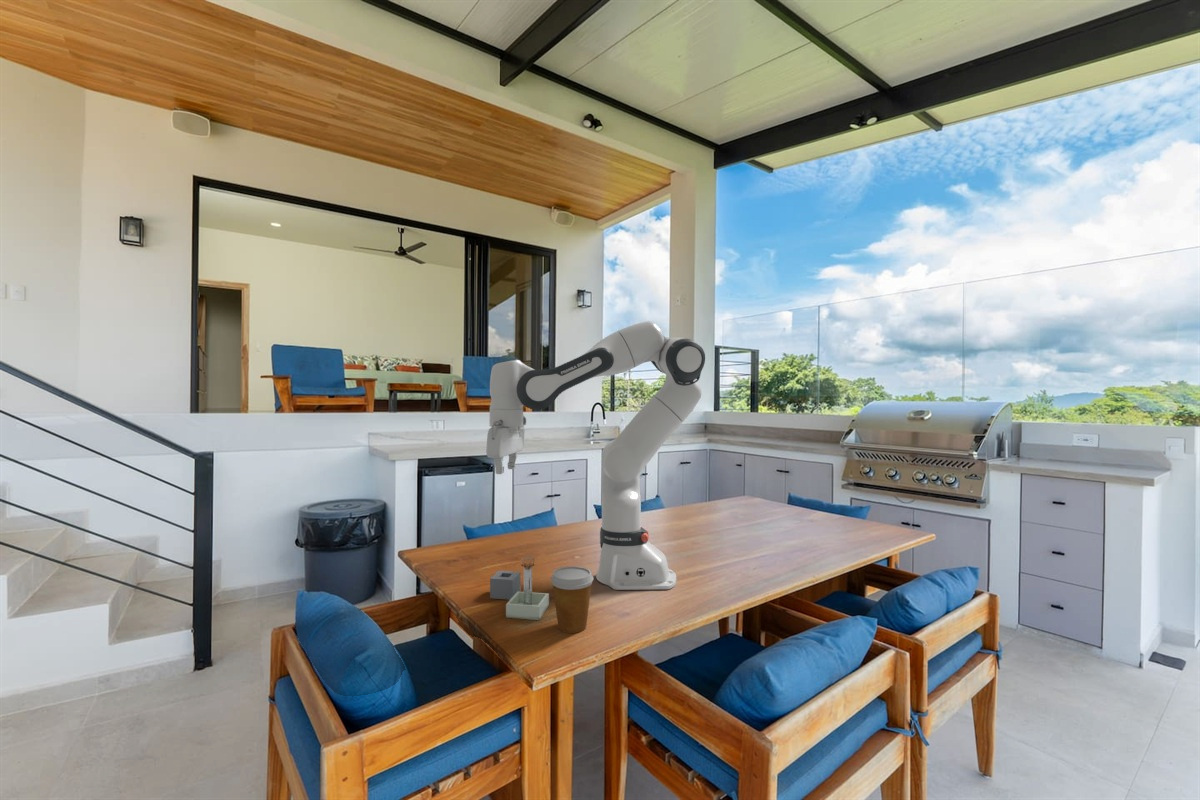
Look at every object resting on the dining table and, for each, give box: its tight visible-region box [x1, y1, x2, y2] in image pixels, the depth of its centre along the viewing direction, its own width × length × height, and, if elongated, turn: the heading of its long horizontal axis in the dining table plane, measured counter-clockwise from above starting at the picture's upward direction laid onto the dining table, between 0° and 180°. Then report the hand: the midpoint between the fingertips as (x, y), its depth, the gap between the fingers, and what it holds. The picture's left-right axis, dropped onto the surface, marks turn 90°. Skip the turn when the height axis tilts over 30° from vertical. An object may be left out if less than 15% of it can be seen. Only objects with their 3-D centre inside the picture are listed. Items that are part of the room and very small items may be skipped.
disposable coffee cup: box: [550, 565, 595, 634], centre depth 111 cm, size 10×10×12 cm
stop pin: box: [520, 555, 536, 605], centre depth 119 cm, size 3×3×12 cm
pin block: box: [489, 570, 522, 601], centre depth 129 cm, size 6×6×5 cm
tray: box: [505, 591, 550, 621], centre depth 119 cm, size 8×8×3 cm
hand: (505, 471), depth 134 cm, fingers open, 8 cm apart
